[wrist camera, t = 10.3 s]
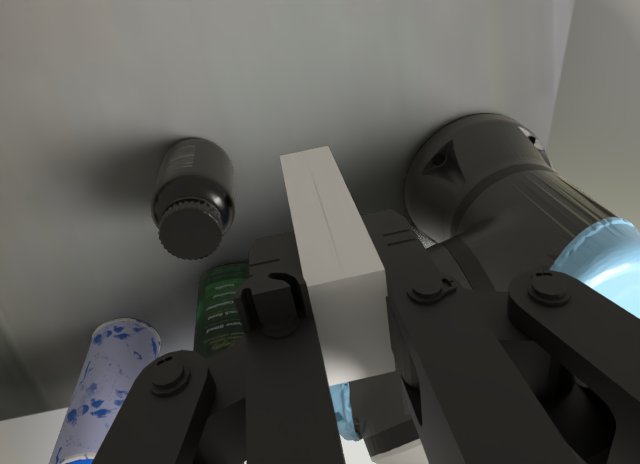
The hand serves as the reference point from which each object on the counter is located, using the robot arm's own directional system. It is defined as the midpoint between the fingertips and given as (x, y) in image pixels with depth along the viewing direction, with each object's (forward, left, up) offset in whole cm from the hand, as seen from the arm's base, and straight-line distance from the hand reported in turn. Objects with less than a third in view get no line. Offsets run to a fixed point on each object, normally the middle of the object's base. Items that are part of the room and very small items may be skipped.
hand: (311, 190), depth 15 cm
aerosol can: (+22, +31, -31) cm, 49 cm away
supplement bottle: (+8, +11, -31) cm, 34 cm away
